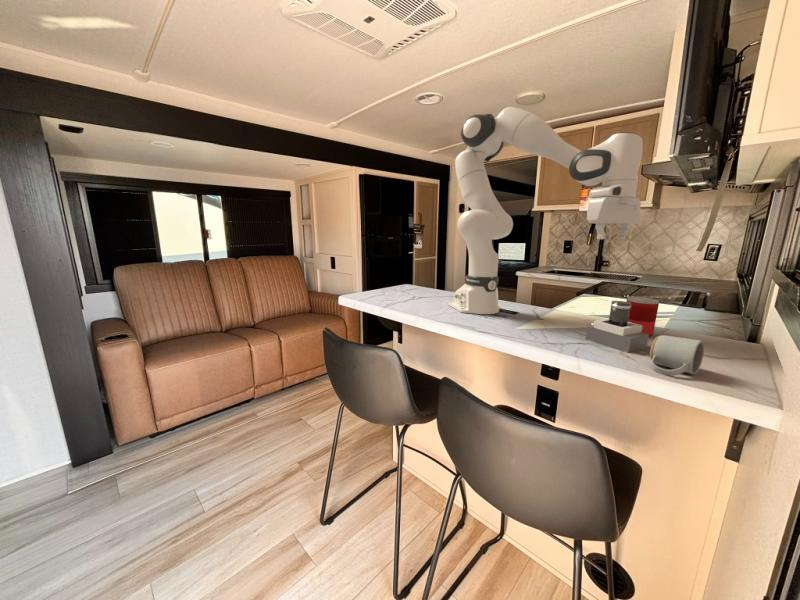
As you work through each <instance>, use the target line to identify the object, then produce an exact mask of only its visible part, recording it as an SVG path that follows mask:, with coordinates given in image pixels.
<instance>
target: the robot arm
mask: <svg viewBox="0 0 800 600" xmlns="http://www.w3.org/2000/svg"><path fill="white" fill-rule="evenodd" d="M460 137H461V139H462V141H463V143H464V145H466V146H467V147H466V149H465V150H463V151H461V152H460V153H459V154H458V155H457V156H456V157H455V161H454V162H455V163H454V167H455V175H456V180H457V184H458V188H459V191H460V194H461V197H462V201H463V202H464V204H465V205H466V206H467V207H469V209H470V210H467V211H464V212H462V213H461V214H460V216H459V217H458V220H457V224H456V225H457V227H456V228H457V231H458V233H459V236H461V237H462V238H463V239H464V242H465V244H466V248H467V253H468V274H467V275H463V276H464V278H463V279H465V281H464V284H463V285H462V286H461V287H459V288H457V290H456V291H455V292H454V295H453V296H454V297H453V300H452V301H448V303H447V305H448V306H450V307H452V308H453V309H455V310H456V311H458V312H460V313H463V314H464V313H465V314H477V315H493V314H494V315H495V314H498V313H499V312H500V308H501V307H500V305H499V289H498V287H497V286H498V285H499V276H498V272H499V271H498V270H499V254H498V253H497V252H496V251H495V249H494V245H493V243H492V242H493V240H499V239H504V238H506V237H508V236H509V235H510V234H511V232H512V230H513V227H514V221H513V218H512V216H511V215H510V214H508V213H507V212H506V211H505V209H504V208H503V207H502V205H501V204H500V202H499V200H498V199H497V197H496V196H495V194H494V192H493V189H492V187H491V183H490V180H489V177H488V173H487V170H486V168H485V167H486V166H485V163H488V162H490V161H491V160H492V159H493V158H495V157H497V156H498V155H499V154H500V153H501V151H502V150H503V148H504V146H505V145H504V143H507V144H509V145H510V146H513V147H514V148H516V149H517V150H519V151H521V152H524V153H528V154H530V155H534V156H538V157H542V158H546V159H548V160H552V161H554V162H555V163H558V164H560V165H561V166H563V167H564V168H567V169H568V172H569V173H568V174H569V176H570V177H571V178H572V179H573V180H575V181H576V182H578V183H580V184H581V185H583V186H584V187H586V188H591V190H589V194H588V196H589V198H590V200H589V202H588V204H587V205H588V206H587V209H586V210H587V212H586V220H587V223H588V224H595V230H596V233H597V234H596V239H597V240H606V238H607V232H605V231H606V230H605V228H606V226H607V224H608V225H609V224H610V225H612V224H613V225H619V228H620V229H619V232H618V233H617V232H616V233H617V234H616V239H617V240H625V239H626V234H627V233H628V231H629V230H630V225H637V224H638V223H639V221H640V219H641V209H642V204H641V200H640V198H639V196H638V194H637V189H638V183H639V175H638V173H639V169H640V167H641V165H642V159H643V150H644V149H643V147H644V144H643V143H644V142H643V141H644V140H643V138H642V136H641V135H639V134H637V133H636V132H630V131H629V132H628V131H626V132H625V131H624V132H617V133H614V134H612V135H611V136H610V137H608V138H607V139H606V140H604V141H603V142H601V143H598V144H597V145H594V146H593V147H590V148H587V149H584V150H580V149H579V148H577V147H575V146H573V145H571V144H570V143H568V142H566V141H565V140H564V139H563V138H562V137H560V136H559V134H557V132H556V131H555V130H554V129H553V128H552V127H551V126H550V125H549V123H547V122H546V121H545V120H544V119H543V118H541V117H540V116H538V115H536V114H534V113H533V112H530V111H528V110H526V109H523V108H519V107H515V106H508V107H505V108H504V109H502V110H501V111H500V112H499V113H498V115H497V116H496V117H494V115H493V114H492V113H486V114H485V113H484V114H483V113H482V114H481V113H478V114H472V115H470V116H468V117H467V118H466V119H465V120H464V121H463V123H462V125H461V128H460Z"/></svg>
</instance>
